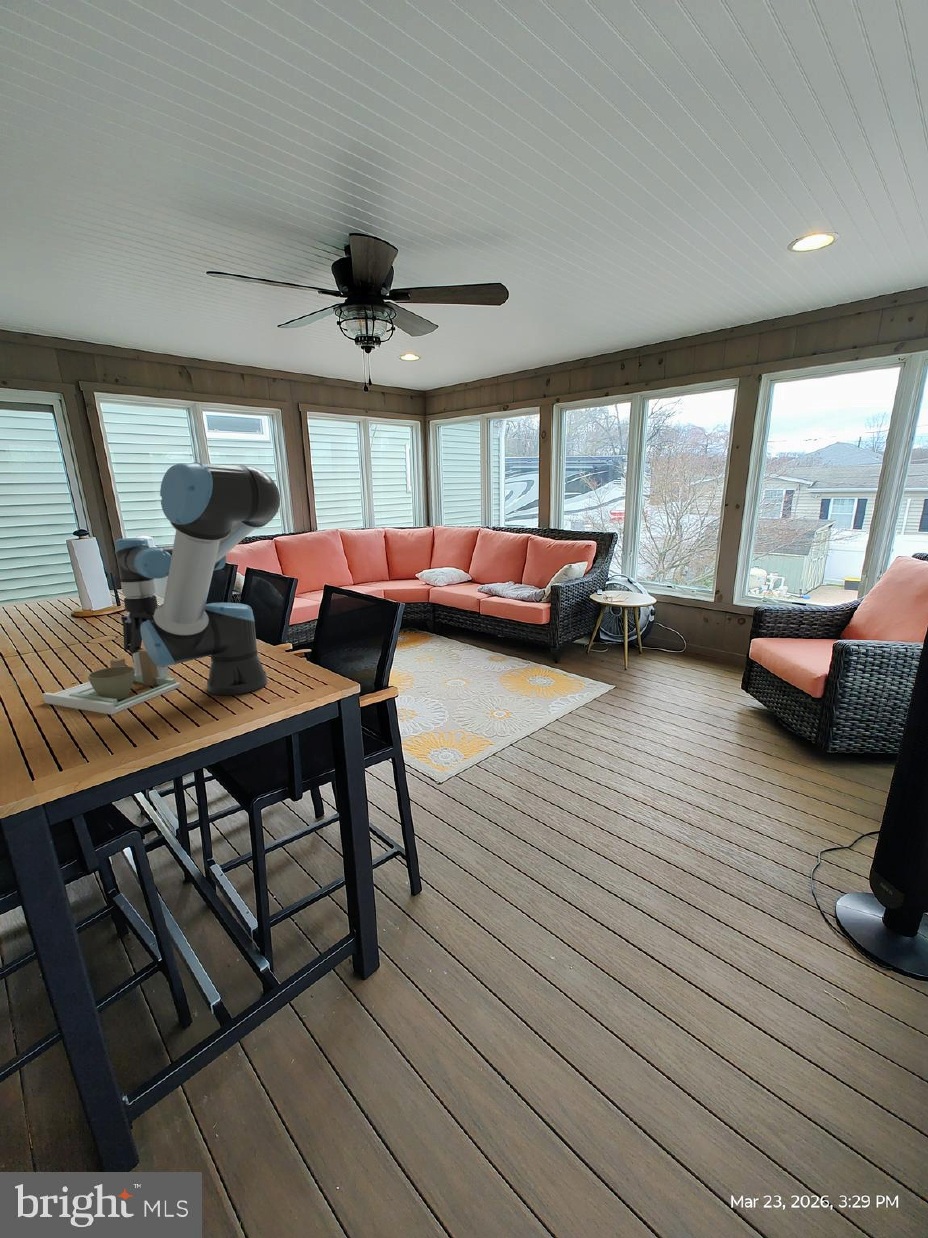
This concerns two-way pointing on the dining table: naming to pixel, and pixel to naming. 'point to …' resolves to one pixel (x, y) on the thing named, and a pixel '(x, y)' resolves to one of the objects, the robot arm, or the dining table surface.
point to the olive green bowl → (113, 681)
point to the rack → (98, 705)
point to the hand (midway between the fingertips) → (152, 675)
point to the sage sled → (146, 678)
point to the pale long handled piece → (88, 687)
